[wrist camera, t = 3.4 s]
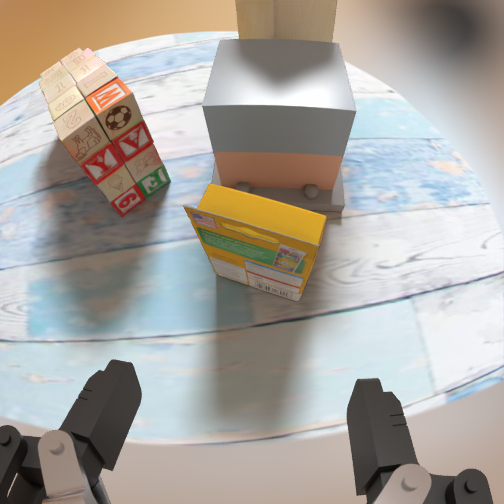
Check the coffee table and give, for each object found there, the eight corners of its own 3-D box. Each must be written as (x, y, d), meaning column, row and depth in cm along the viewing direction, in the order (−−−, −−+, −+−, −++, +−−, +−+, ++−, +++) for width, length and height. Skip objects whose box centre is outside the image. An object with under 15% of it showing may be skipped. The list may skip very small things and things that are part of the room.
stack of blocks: (68, 119, 36) (29, 57, 24) (104, 94, 37) (72, 28, 25) (122, 218, 29) (58, 140, 18) (173, 182, 30) (132, 90, 19)
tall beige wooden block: (288, 63, 36) (291, -78, 17) (326, 91, 34) (346, -66, 14) (239, 83, 35) (221, -71, 16) (274, 114, 33) (272, -66, 13)
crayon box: (309, 269, 26) (336, 198, 15) (298, 302, 25) (321, 250, 14) (228, 243, 27) (203, 161, 17) (215, 275, 26) (179, 207, 16)
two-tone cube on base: (211, 207, 29) (183, 122, 18) (224, 115, 33) (211, 33, 23) (341, 211, 28) (374, 128, 17) (331, 119, 32) (347, 36, 22)
